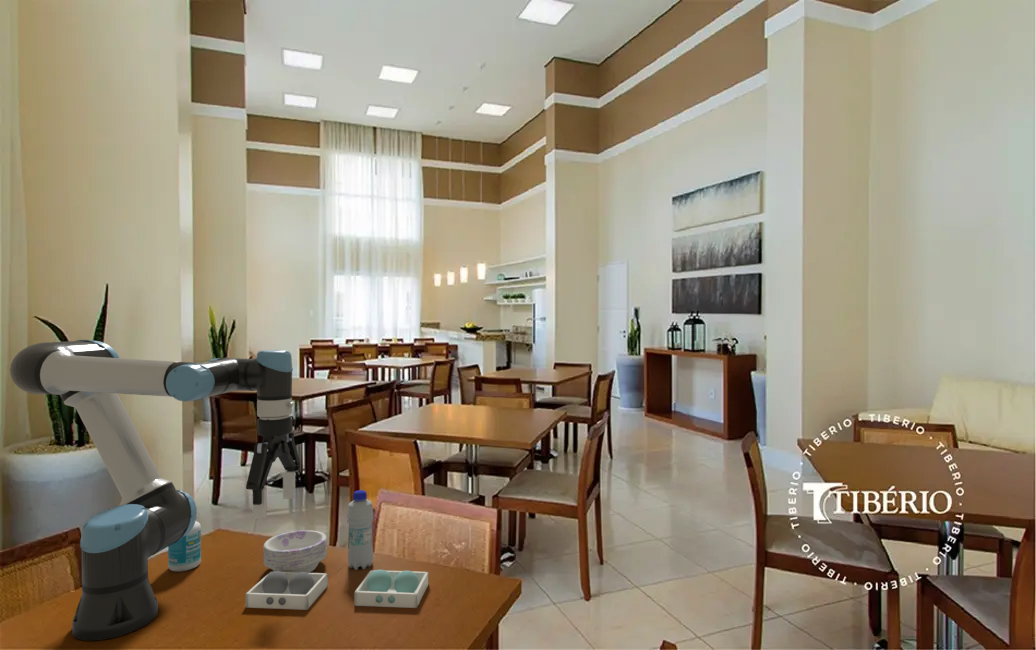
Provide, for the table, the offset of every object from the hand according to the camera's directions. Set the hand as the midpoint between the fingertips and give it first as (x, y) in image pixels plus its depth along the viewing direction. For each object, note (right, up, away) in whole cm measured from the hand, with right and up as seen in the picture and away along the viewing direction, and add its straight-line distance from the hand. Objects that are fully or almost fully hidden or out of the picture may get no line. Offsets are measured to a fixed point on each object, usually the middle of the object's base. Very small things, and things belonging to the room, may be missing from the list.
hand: (275, 507), depth 135 cm
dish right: (+27, -21, 0) cm, 34 cm away
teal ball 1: (+24, -20, 0) cm, 32 cm away
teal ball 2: (+31, -20, 0) cm, 37 cm away
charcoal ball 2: (+6, -20, -1) cm, 21 cm away
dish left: (+3, -21, 0) cm, 21 cm away
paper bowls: (-1, -21, +15) cm, 25 cm away
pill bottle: (-31, -21, +17) cm, 41 cm away
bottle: (+16, -21, +16) cm, 31 cm away
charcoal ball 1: (0, -20, 0) cm, 20 cm away
